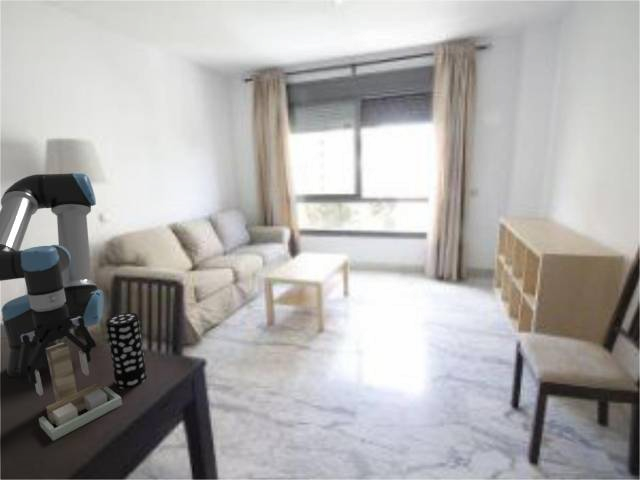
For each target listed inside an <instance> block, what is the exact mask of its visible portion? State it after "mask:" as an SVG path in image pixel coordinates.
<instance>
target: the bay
mask: <svg viewBox="0 0 640 480" xmlns="http://www.w3.org/2000/svg"><path fill="white" fill-rule="evenodd" d="M102 391H103V392H105V393H106V394H107V400H109V401H108V402H106V403H104V404H102V405H100V406H98V407H96V408H94V409H92V410H90V411H88V410H87V412H84V413H83V414H80V415H78V417H76V418H74V419H72V420H70V421H68V422H66V423H65V424H63V425H61V426H59V427H57V426H56V427H54V426H53V425H52V424H51V422H50V421H49V420H48V419H47V418H46V417H45V416H44V415H43V416H41V417H38V422H39V427H40V428H41V429H42V430H43V431H44V432H45V433H46V435H47V436H48V437H49V438H50V439H51V440H52V442H54V441H56V440H57V439H60V438H62V437H63V436H66V435H68V434H69V433H71V432H73V431H75V430H77V429H78V428H80V427H82V426H84V425H86V424H88V423H90V422H92V421H94V420H96V419H97V418H99V417H101V416H103V415H105V414H107V413H109V412H111V411H113V410H114V409H116V408H119V407H121V406H122V405H123V401H122V397H121V396H120V395H119V394H117V393H116V392H115V391H113V390H112V389H111V388H109V387H108V386H107V385H106V386H104V387H102Z"/></svg>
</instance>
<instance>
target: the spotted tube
mask: <svg viewBox="0 0 640 480" xmlns="http://www.w3.org/2000/svg"><path fill="white" fill-rule="evenodd" d="M105 324H106V325H105V326H106V332H107V337H108V344H109V352H110V357H111V363H112V369H113V375H114V376H113V377H114V381H115V386H116V387H117V388H118V389H131V388H134V387H136V386H137V387H138V386H139V385H141V384H142V383H144V382H145V381H146V379H147V375H148V374H147V368H146V362H145V356H144V355H145V353H144V348H143V347H144V346H143V340H142V332H141V327H140V319H139V314H137V313H135V312H124V313H119V314H115V315H113V316H111V317H109V318H108V319H106V321H105Z"/></svg>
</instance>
